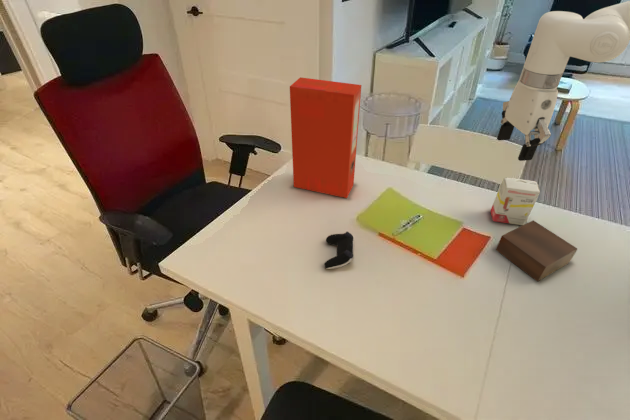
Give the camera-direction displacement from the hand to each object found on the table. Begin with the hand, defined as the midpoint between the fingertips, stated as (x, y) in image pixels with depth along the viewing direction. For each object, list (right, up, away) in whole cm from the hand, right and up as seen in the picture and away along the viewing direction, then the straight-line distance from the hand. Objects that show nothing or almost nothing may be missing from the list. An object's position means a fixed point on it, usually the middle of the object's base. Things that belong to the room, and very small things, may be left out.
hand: (513, 149), depth 89 cm
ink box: (+6, -17, +16) cm, 24 cm away
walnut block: (+7, -26, +4) cm, 27 cm away
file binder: (-45, -7, +28) cm, 53 cm away
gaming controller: (-42, -26, +5) cm, 49 cm away
